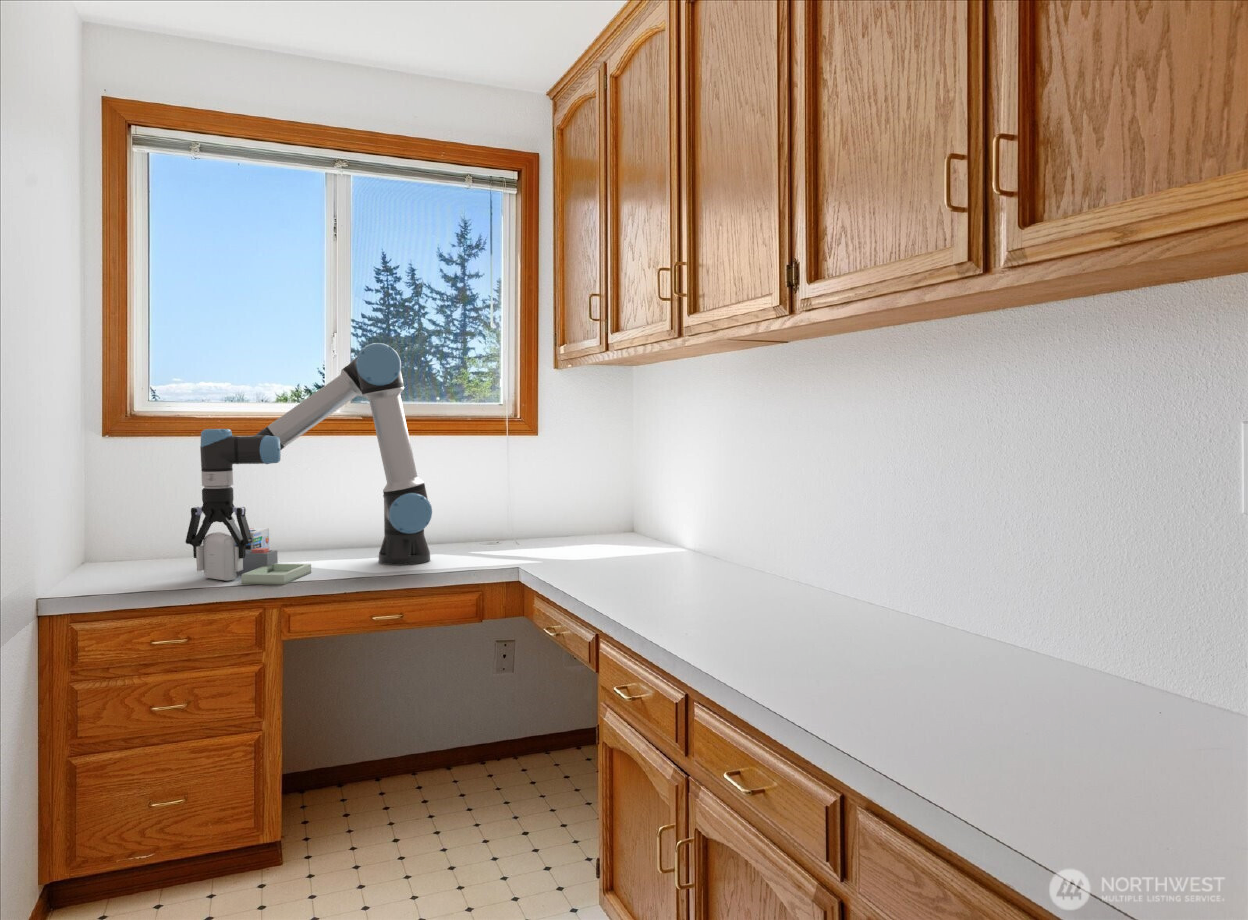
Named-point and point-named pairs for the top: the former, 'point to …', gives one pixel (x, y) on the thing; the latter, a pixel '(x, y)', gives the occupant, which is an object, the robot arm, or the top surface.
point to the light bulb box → (258, 538)
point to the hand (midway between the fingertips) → (220, 570)
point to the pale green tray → (276, 574)
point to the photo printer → (219, 556)
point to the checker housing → (258, 561)
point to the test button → (260, 550)
